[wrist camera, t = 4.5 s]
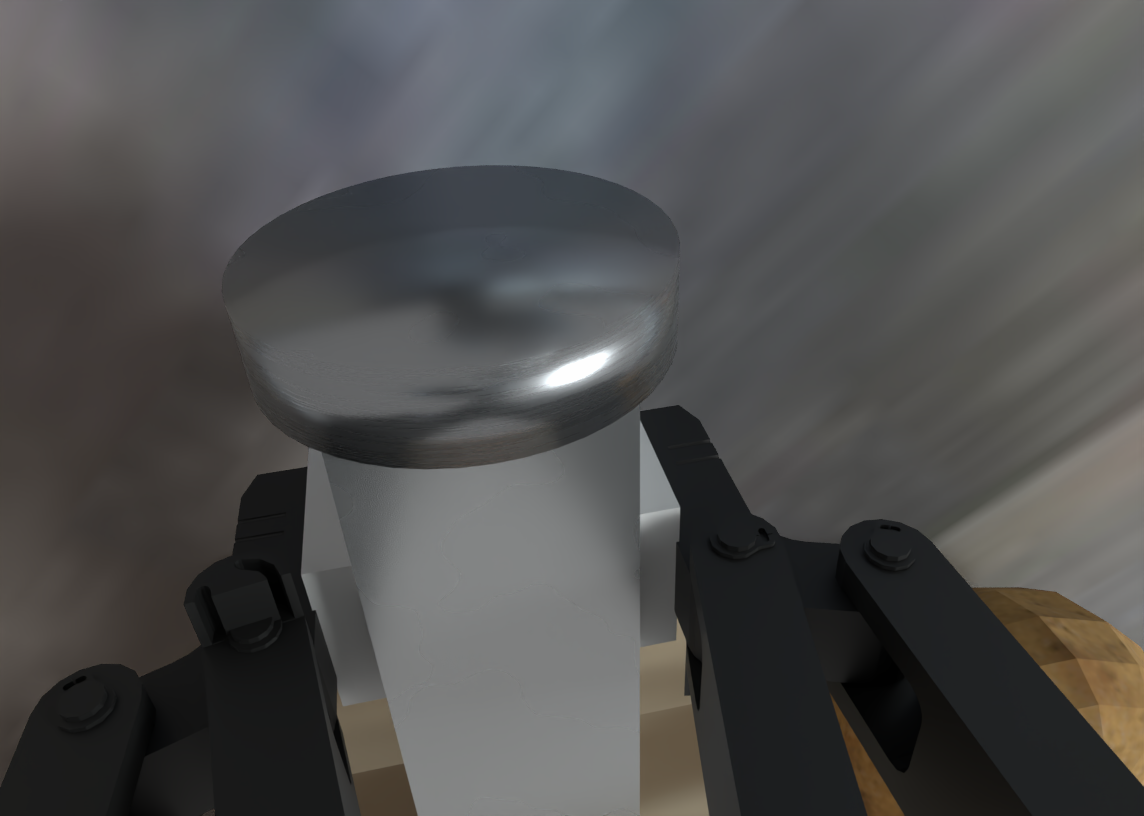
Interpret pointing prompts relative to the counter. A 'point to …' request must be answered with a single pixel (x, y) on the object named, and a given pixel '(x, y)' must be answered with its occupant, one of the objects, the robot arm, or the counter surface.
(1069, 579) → the counter surface
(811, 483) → the counter surface
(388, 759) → the bearing stand
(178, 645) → the counter surface
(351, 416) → the shaft
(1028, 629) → the potato
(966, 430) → the counter surface
